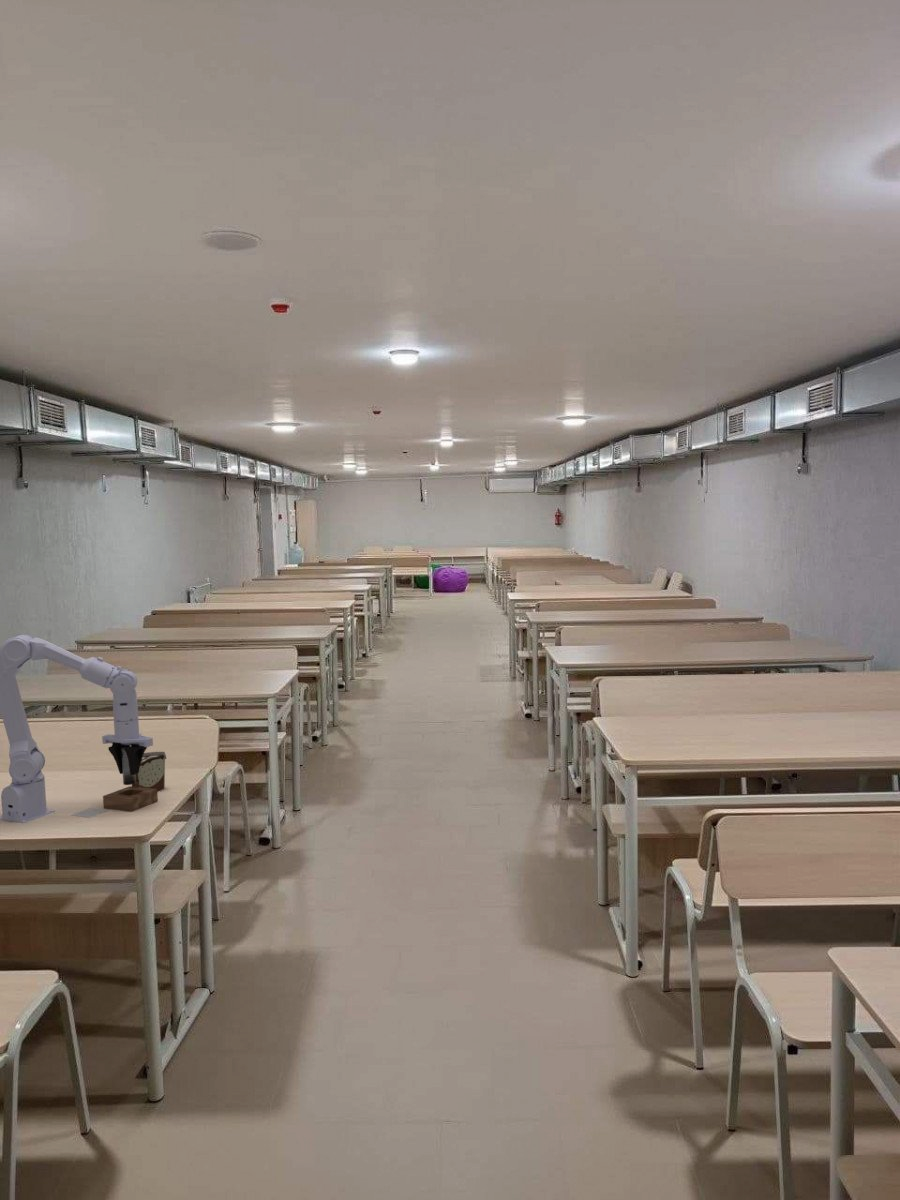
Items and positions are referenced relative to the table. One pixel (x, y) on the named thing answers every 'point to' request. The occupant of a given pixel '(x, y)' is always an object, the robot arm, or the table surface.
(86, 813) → the mat
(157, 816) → the table surface
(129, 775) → the peg
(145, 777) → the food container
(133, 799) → the hole block
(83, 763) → the table surface
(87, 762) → the table surface
